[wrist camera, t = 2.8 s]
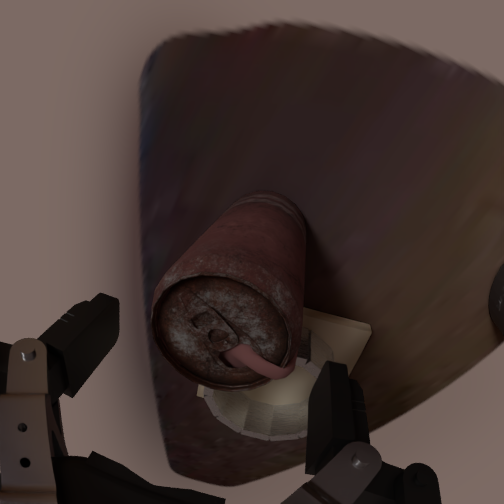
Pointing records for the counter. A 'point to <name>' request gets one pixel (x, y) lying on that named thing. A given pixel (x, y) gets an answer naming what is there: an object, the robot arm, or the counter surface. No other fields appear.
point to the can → (236, 297)
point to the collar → (266, 415)
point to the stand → (300, 380)
